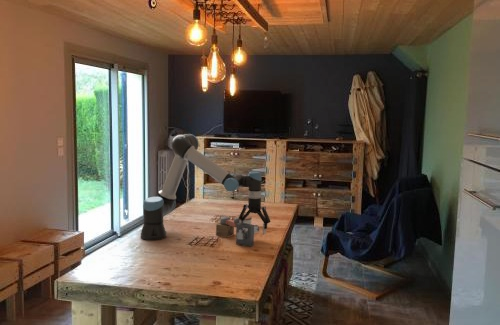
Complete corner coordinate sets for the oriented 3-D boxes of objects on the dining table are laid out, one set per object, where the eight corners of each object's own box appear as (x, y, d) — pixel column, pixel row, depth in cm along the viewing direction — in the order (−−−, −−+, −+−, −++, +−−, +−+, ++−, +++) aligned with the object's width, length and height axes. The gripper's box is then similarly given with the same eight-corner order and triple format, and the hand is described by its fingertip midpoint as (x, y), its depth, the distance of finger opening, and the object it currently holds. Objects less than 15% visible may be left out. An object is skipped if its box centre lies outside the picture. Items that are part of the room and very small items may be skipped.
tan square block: (227, 237, 270) (227, 226, 269) (216, 235, 274) (216, 224, 273) (233, 234, 277) (234, 223, 276) (222, 232, 281) (223, 221, 280)
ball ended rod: (218, 223, 275) (218, 214, 274) (226, 221, 279) (226, 213, 278) (234, 228, 263) (234, 219, 262) (242, 227, 266) (242, 218, 266)
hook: (243, 240, 250) (243, 230, 249) (236, 239, 252) (236, 229, 251) (259, 232, 267) (259, 223, 267) (252, 231, 269) (253, 222, 269)
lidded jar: (249, 231, 286) (250, 216, 285) (233, 229, 288) (233, 215, 287) (252, 226, 296) (253, 213, 295) (237, 225, 298) (237, 211, 297)
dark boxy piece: (250, 246, 253) (251, 226, 251) (235, 244, 257) (236, 224, 256) (253, 245, 256) (254, 224, 255) (239, 242, 261) (239, 222, 259)
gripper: (233, 196, 266) (232, 230, 268) (271, 201, 254) (270, 237, 257) (239, 194, 272) (238, 228, 275) (276, 198, 261) (275, 234, 263)
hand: (254, 232), depth 266 cm, fingers open, 13 cm apart
